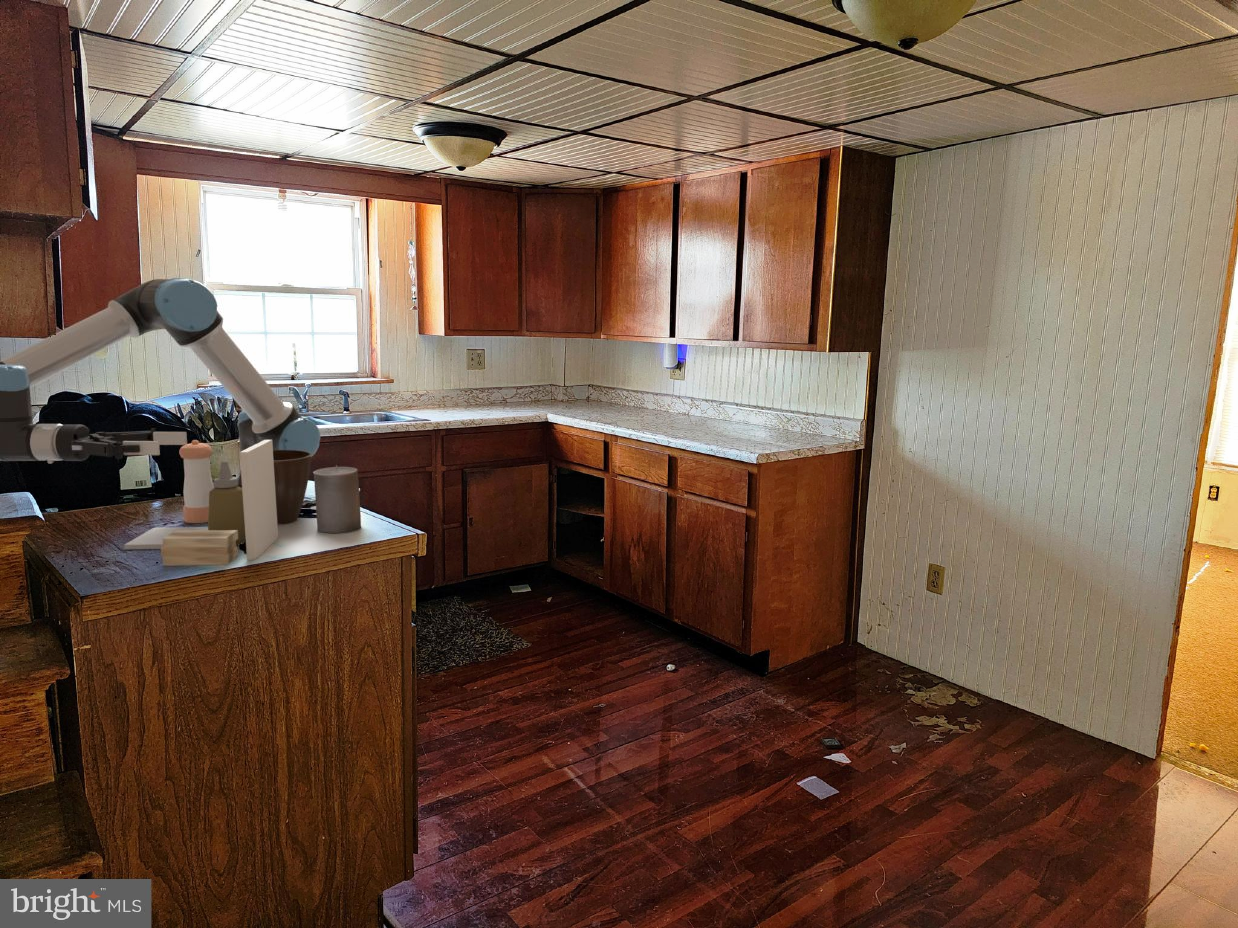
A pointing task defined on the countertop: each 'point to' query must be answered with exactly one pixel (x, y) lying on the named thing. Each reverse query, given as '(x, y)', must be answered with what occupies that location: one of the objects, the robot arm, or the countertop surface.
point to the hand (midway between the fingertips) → (173, 443)
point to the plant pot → (290, 482)
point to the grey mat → (155, 537)
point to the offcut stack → (199, 547)
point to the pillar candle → (337, 499)
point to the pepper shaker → (196, 481)
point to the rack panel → (259, 498)
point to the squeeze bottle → (227, 504)
